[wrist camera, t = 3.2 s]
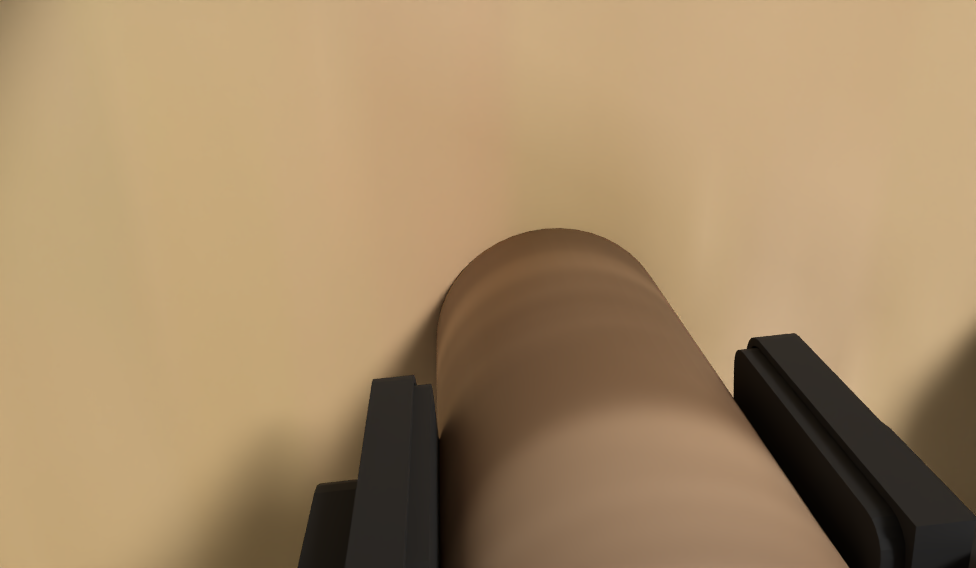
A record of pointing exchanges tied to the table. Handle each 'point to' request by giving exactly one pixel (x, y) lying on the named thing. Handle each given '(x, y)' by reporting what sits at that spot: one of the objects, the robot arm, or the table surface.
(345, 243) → the table surface
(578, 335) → the walnut peg
